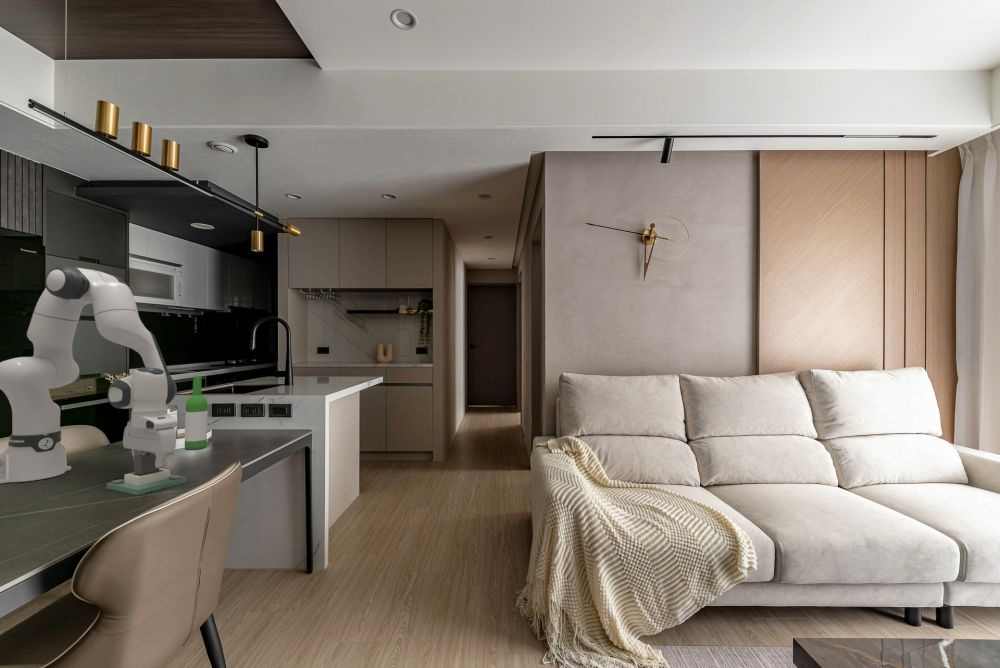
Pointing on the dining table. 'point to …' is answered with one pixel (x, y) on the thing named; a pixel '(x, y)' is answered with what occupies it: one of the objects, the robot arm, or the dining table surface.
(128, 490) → the header board
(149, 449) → the robot arm
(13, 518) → the dining table surface
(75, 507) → the dining table surface
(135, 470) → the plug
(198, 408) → the wine bottle
